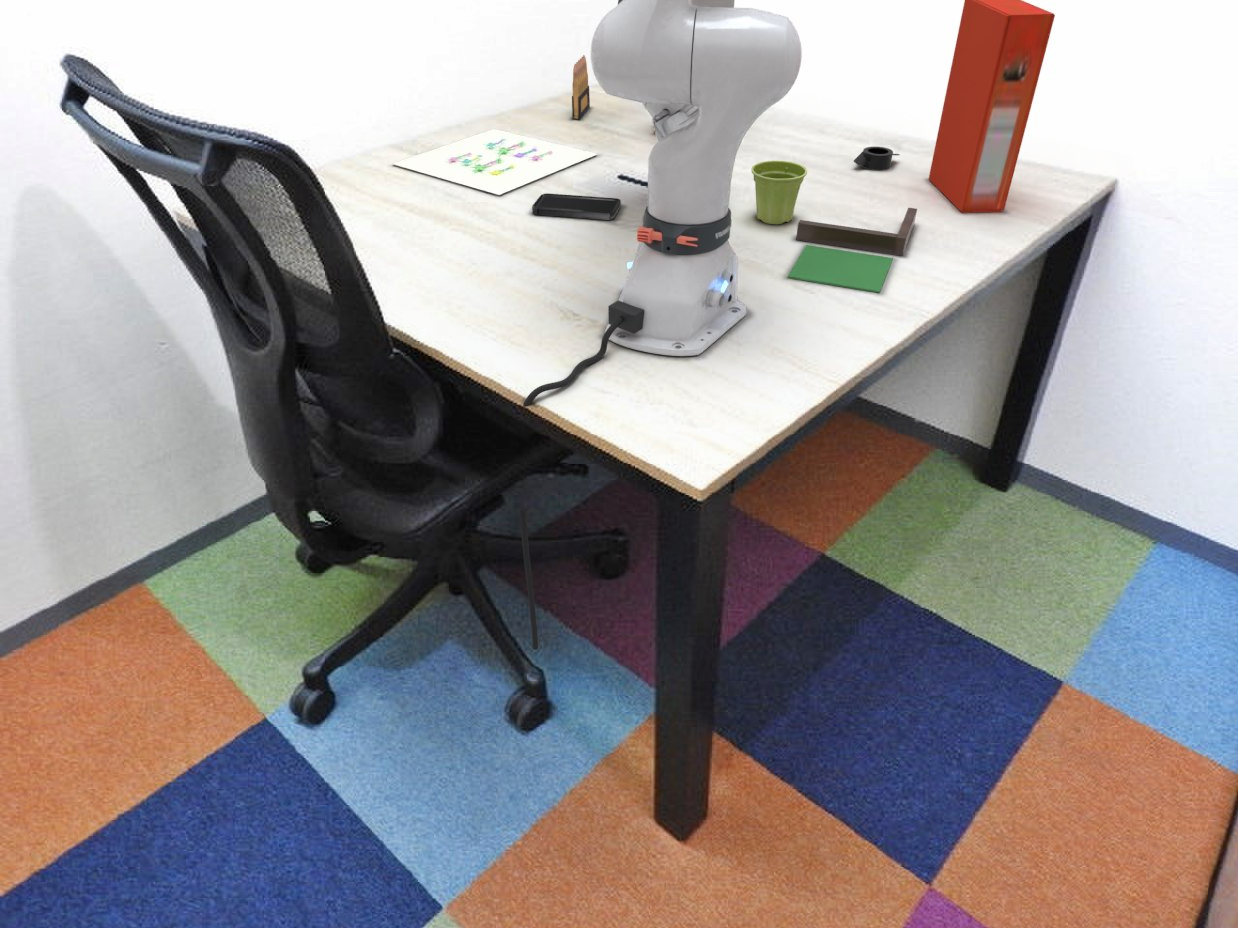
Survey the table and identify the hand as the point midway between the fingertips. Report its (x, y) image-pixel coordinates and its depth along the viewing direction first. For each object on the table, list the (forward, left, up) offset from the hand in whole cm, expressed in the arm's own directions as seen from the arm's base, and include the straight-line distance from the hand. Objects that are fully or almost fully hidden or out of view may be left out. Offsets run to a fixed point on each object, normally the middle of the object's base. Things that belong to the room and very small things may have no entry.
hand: (723, 168), depth 153 cm
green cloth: (-17, -25, -7) cm, 31 cm away
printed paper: (+9, +51, -7) cm, 52 cm away
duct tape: (+35, -22, -7) cm, 42 cm away
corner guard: (-2, -25, -7) cm, 26 cm away
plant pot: (-1, -10, -7) cm, 13 cm away
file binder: (+24, -40, -7) cm, 47 cm away
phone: (-10, +24, -7) cm, 27 cm away
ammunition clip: (+47, +49, -7) cm, 68 cm away
